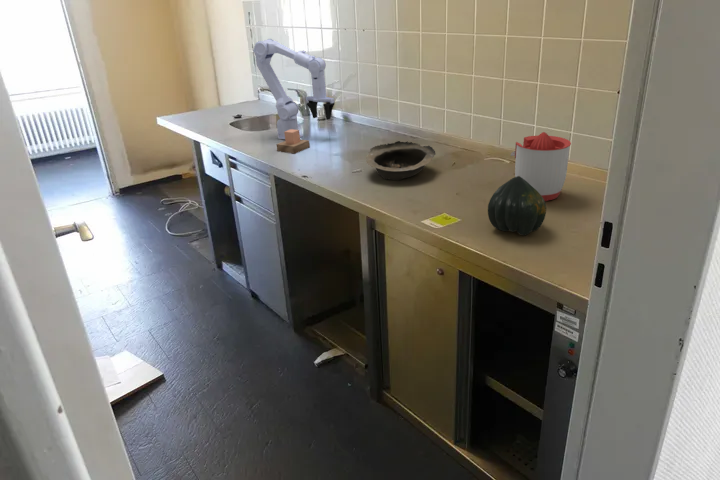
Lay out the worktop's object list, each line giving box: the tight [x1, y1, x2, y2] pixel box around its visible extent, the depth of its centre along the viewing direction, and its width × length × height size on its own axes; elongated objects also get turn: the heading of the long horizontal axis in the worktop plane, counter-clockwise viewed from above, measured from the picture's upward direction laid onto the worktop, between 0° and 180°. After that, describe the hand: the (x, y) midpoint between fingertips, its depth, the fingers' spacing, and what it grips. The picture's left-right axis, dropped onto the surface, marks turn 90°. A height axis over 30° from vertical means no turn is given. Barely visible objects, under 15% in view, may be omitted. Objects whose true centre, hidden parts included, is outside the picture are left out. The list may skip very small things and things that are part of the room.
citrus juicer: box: [510, 131, 572, 202], centre depth 165 cm, size 16×17×20 cm
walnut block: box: [276, 138, 311, 155], centre depth 233 cm, size 10×10×4 cm
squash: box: [487, 176, 547, 236], centre depth 145 cm, size 14×15×15 cm
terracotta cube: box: [284, 129, 301, 144], centre depth 231 cm, size 4×4×5 cm
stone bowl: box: [365, 140, 436, 181], centre depth 193 cm, size 25×25×9 cm
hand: (321, 118), depth 242 cm, fingers open, 7 cm apart
